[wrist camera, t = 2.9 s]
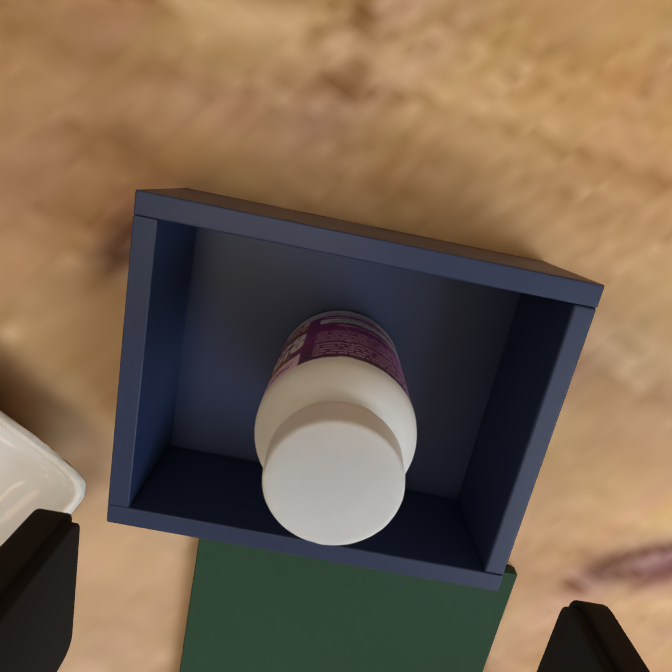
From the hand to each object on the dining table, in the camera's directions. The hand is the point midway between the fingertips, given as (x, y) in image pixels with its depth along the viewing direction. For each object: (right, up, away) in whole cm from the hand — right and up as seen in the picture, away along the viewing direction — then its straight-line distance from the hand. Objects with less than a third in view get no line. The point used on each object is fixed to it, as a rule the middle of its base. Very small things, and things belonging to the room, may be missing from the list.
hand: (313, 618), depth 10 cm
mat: (0, -12, +19) cm, 23 cm away
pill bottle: (0, +4, +14) cm, 14 cm away
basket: (0, +4, +14) cm, 15 cm away
